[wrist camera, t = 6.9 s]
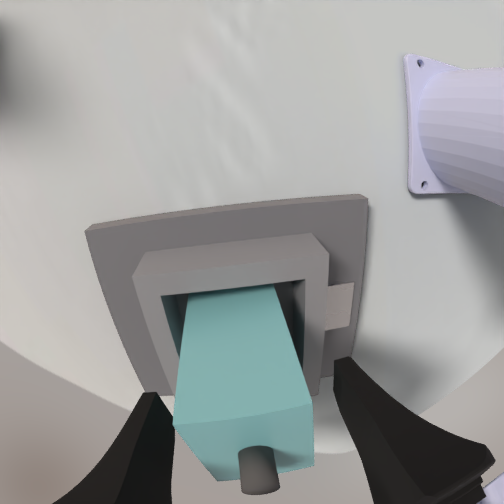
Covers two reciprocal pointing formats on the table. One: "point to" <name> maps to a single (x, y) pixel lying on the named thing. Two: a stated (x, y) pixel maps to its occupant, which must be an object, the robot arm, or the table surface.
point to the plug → (242, 389)
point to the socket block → (235, 275)
